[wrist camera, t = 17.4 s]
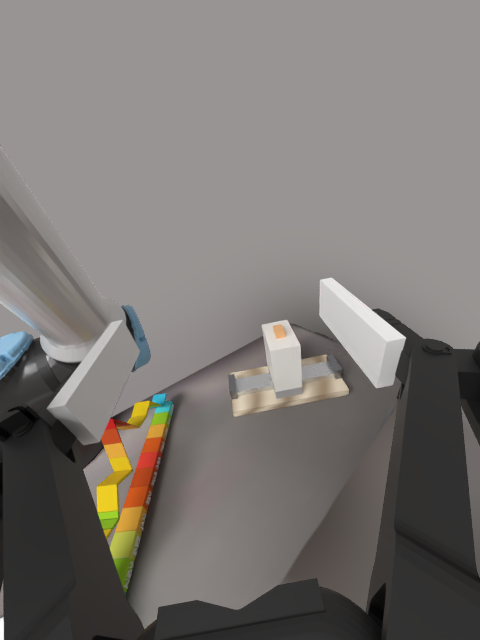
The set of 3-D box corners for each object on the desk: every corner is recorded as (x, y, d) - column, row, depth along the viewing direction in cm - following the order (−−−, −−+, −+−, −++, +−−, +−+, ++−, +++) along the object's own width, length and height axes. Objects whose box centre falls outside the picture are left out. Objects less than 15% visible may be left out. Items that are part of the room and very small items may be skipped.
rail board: (234, 416, 42) (233, 411, 42) (231, 377, 51) (230, 373, 50) (348, 394, 42) (349, 389, 41) (326, 359, 51) (326, 354, 50)
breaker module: (276, 399, 42) (269, 345, 35) (268, 369, 49) (260, 319, 42) (302, 394, 42) (300, 339, 35) (290, 364, 49) (286, 314, 42)
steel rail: (232, 399, 44) (229, 391, 43) (230, 382, 48) (228, 374, 47) (341, 378, 44) (342, 369, 42) (331, 362, 48) (332, 354, 46)
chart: (108, 675, 22) (-9, 677, 14) (78, 676, 22) (-56, 680, 14) (175, 406, 47) (148, 353, 39) (161, 408, 48) (130, 356, 40)
